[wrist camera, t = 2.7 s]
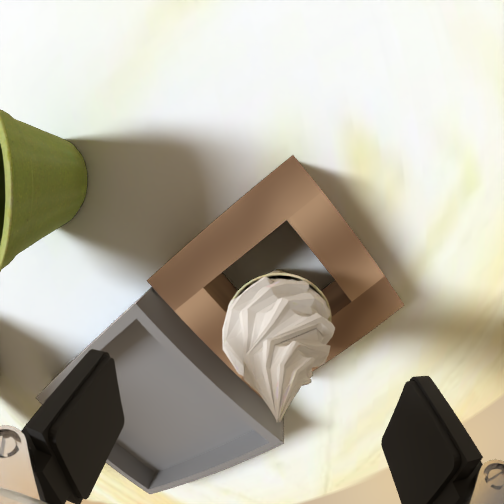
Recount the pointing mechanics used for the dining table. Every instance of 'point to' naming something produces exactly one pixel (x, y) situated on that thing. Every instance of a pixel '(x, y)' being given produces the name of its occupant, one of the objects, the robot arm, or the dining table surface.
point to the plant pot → (35, 185)
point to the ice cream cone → (277, 335)
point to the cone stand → (256, 229)
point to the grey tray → (176, 401)
